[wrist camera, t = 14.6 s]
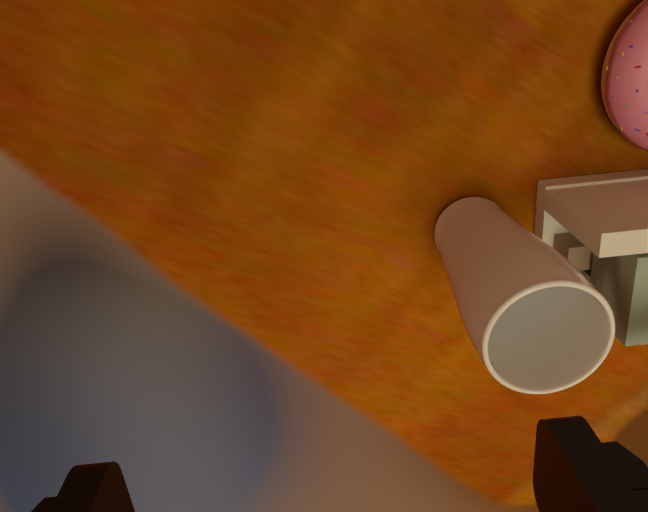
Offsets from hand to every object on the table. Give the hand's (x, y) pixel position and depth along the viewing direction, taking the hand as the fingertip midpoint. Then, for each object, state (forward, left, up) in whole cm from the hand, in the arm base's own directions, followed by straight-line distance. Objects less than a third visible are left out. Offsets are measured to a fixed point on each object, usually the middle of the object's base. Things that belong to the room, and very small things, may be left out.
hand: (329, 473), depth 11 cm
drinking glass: (+8, +11, -30) cm, 33 cm away
